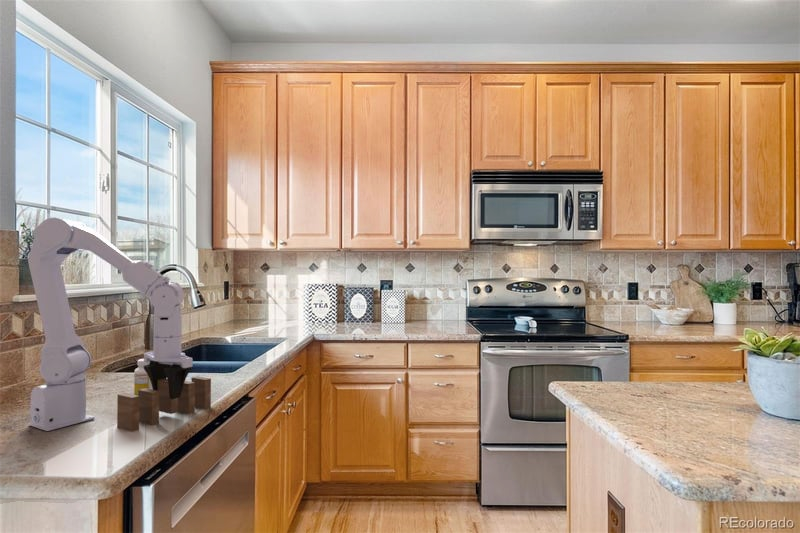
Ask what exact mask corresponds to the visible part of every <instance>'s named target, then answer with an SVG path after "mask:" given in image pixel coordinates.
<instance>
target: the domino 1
mask: <svg viewBox="0 0 800 533" xmlns="http://www.w3.org/2000/svg"><path fill="white" fill-rule="evenodd" d="M116 405H117V408H116V409H117V412H116V413H117V414H116V420H117V422H116V424H117V426H116V427H117V429H120V430H125V431H127V432H131V433H132V432H136V431H139V430H140V422H139V396H137V395H134V394H132V393H128V392H123V393H119V394H117V404H116Z"/></svg>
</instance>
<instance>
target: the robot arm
mask: <svg viewBox="0 0 800 533" xmlns="http://www.w3.org/2000/svg"><path fill="white" fill-rule="evenodd" d="M32 233H33V242H32V244H31V248H30V251H29V253H28V258H27V263H28V267H29V272H30V276H31V281H32V285H33V289H34V292H35V296H36V297H35V298H36V302H37V307H38V312H39V316H40V319H41V324H42V329H43V334H44V337H45V342H44V343H43V345H42V347H41V349H40V357H41V360H40V363H39V367H38V368H39V374H40V376H41V378H42V379H43V380H44V381H45V383H44V384H41V385H37V386H35V387H34V388H32V390H31V393H30V400H29V401H30V402H29V405H30V408H29V412H30V413H29V415H30V416H29V417H30V418H29V420H30V422H29V423H28V426H30V427H34V428H37V429H40V430H43V431H45V432H49V431H53V430H56V429H57V430H58V429H61V428H64V427H68V426H72V425H76V424H79V423H83V422H88V421H91V420H94V419H95V417H96V416H94V415H91V414H87V412H86V411H87V375H86V371H87V370H89V368H90V367H91V364H92V356H91V353H90V352H89V351H88V350H87V349H86V348H85V345H84V341H83V339H81V337H80V336H78V334H77V333H76V330H75V326H74V322H73V316H72V312H71V307H70V303H69V299H68V294H67V289H66V285H65V280H64V276H63V271H62V266H61V265H62V263H63V262H64V261H65V260H67V258H68V257H69V256H70V255H71V254H73V253H75V252H77V251H78V250H84V251H89V252H91V253H93V254H94V255H95V256H97V257H99V258H100V259H101V260H103V261H104V262H106V263H108V264H109V265H111V266H112V267H114V268H115V269H117V270H118V271H120V272H121V275H122V280H123V282H125V283H126V284H128V285H129V286H131V287H132V288H134V290H136V291H137V292H139V293H140V294H142V295H143V296H145V297H146V298H148V299H149V302H150V304H151V305H152V306H153V351H150V352H144V353H143V359H144V362H150V363H149V365H144V370H145V371H146V373H147V374H148V376H149V378H150V381H151V384H152V388H153V390H156V391H157V380H159V379H167V380H168V385H169V396H170V399H175V398H179V397H180V396H181V392H182V388H183V385H184V382H185V381H186V380H187V377H188V375H189V373H190V372H191V370H192V367H193V366H194V365H193V361H194V360H193V357H189V356H188V355H186V353H185V352H182V332H183V331H182V329H183V325H182V324H183V322H182V320H183V319H182V318H183V315H182V303H183V301H184V300H185V297H186V296H185V295H186V294H185V291H184V289H183V287H182V286H181V285H180V283H178V282H174V281H170V280H171V278H170V277H168V275H165V276H164V275H162V274H161V273H159V272H158V271H157V270H155V269H154V268H153V266H154V265H153V263H151V262H149V261H146V262H145V261H143V260H132V259H131V258H130V257H129V256H127V255H126V254H125V253H124V252H122V251H121V250H119V249H118V248H117V247H116V246H115V245H113V244H112V243H111V242H110V241H108V240H107V239H106V238H105V237H103V236H102V235H101V234H100V233H98V232H97V231H95V230H94V229H92V228H90V227H87V225H86V224H84V223H83V222H81V221H76V220H74V221H73V220H67V219H63V218H60V217H49V218H46V219H44V220H43V221H42V222H40V224H38V225H37V226H36V227H35V229H33V230H32Z"/></svg>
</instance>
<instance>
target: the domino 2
mask: <svg viewBox="0 0 800 533" xmlns="http://www.w3.org/2000/svg"><path fill="white" fill-rule="evenodd" d="M138 396H139V424H144V425H148V426H155V425H159V424H160V411H159V391H156V390H151V389H146V388H144V389H139V390H138Z"/></svg>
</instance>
